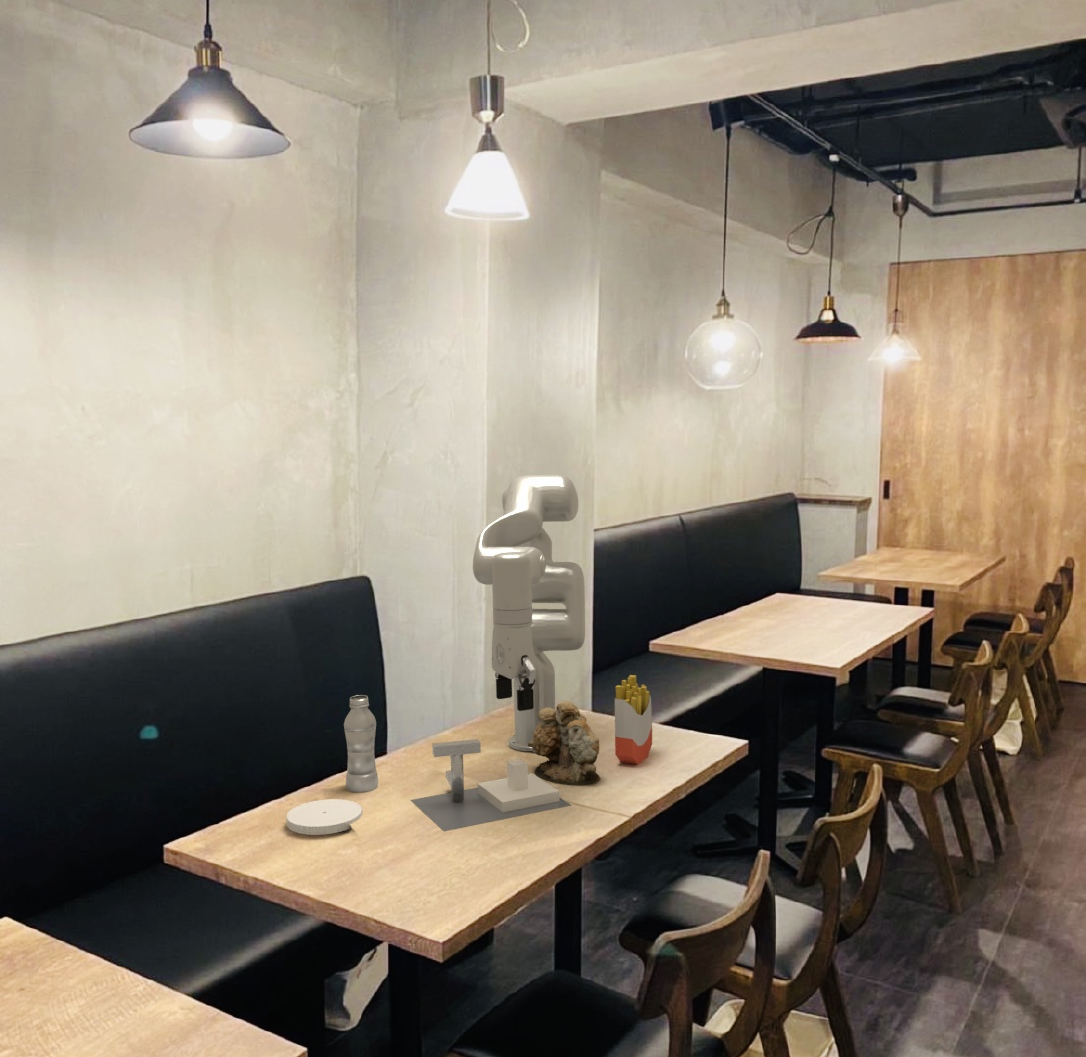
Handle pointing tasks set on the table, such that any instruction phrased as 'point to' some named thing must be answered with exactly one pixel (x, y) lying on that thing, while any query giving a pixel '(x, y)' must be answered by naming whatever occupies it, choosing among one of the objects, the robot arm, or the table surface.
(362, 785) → the plastic bottle
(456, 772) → the t key
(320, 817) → the plastic lid
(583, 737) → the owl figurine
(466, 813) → the base
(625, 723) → the french fries container
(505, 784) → the cover
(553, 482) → the robot arm
